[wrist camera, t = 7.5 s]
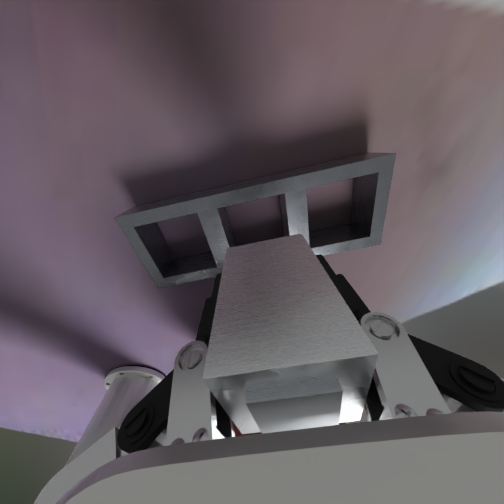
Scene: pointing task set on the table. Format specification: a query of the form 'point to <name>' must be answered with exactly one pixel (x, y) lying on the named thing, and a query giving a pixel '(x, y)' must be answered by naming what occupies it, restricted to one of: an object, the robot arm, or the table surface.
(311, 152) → the table surface
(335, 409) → the white slotted box
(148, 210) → the grey compartment tray
